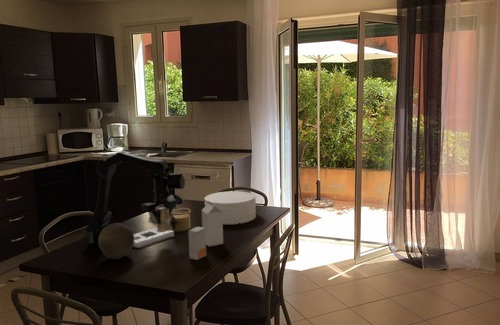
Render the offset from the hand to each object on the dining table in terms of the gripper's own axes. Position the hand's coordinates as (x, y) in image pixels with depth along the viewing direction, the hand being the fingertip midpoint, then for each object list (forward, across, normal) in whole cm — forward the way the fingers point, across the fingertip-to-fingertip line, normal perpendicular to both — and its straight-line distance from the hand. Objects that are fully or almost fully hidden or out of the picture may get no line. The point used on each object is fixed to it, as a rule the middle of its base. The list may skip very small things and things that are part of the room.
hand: (163, 222), depth 177 cm
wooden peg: (+4, 0, 0) cm, 4 cm away
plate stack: (+11, +50, +7) cm, 52 cm away
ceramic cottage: (+11, +27, +35) cm, 46 cm away
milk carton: (+11, +15, -16) cm, 24 cm away
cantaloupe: (+11, -22, +2) cm, 25 cm away
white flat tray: (+10, 0, +12) cm, 16 cm away
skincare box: (+11, 0, -23) cm, 25 cm away
